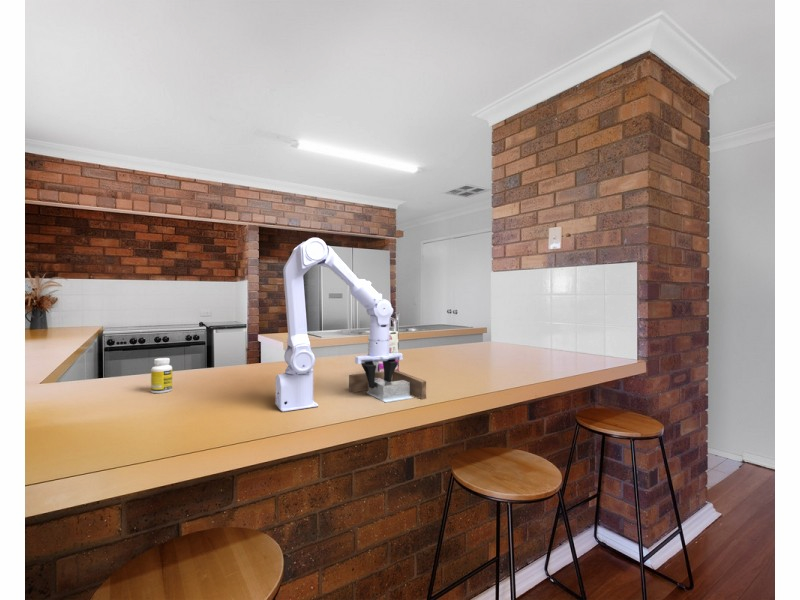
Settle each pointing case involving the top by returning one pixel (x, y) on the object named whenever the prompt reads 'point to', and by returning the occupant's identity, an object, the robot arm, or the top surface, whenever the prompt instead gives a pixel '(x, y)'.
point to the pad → (393, 399)
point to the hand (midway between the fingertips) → (379, 386)
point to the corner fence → (416, 385)
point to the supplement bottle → (161, 376)
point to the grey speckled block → (390, 389)
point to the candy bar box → (392, 349)
